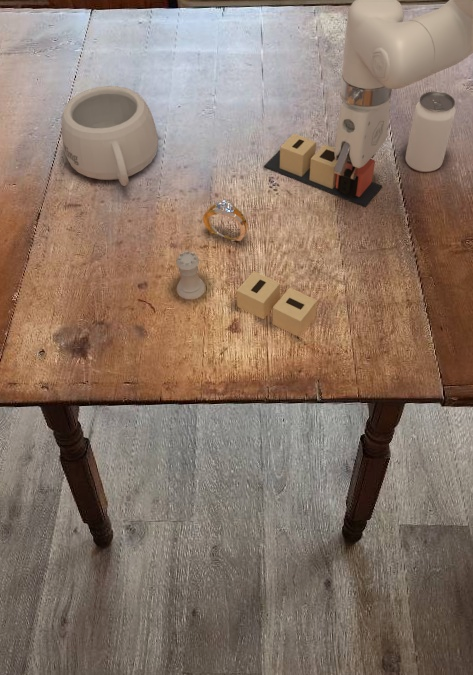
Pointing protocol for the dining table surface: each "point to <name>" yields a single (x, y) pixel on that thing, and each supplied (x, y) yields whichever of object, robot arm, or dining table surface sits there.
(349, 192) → the robot arm
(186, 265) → the rook chess piece
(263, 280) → the slotted blocks
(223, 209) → the ring
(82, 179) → the dining table surface
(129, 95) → the mug
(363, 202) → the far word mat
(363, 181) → the red block
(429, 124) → the can
